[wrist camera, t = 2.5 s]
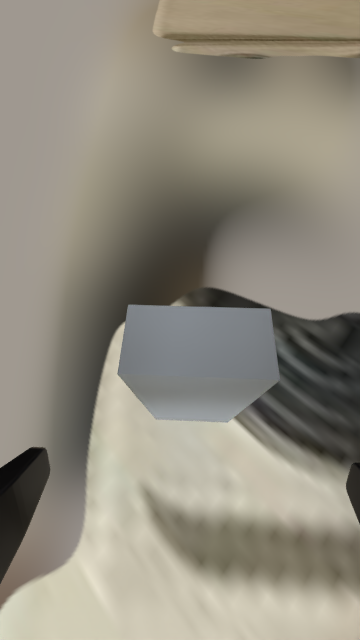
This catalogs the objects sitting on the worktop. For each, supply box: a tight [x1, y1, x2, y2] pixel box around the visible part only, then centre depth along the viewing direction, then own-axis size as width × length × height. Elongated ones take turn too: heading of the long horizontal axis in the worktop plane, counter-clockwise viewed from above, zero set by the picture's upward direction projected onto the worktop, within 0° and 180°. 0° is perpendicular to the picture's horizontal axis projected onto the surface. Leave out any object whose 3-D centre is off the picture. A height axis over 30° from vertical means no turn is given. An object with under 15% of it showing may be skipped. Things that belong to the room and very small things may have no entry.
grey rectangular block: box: [118, 305, 280, 422], centre depth 14 cm, size 3×5×12 cm, turn 88°
